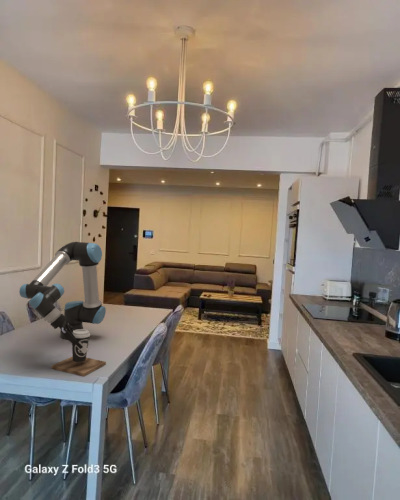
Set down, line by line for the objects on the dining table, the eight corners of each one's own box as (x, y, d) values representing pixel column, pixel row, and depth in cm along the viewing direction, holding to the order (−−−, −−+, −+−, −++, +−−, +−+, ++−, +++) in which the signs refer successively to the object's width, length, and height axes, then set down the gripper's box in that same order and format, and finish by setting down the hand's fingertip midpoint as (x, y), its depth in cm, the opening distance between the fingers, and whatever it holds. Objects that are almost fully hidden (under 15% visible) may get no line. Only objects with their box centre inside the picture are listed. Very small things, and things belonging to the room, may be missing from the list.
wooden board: (51, 368, 178) (51, 365, 178) (75, 357, 195) (75, 355, 195) (83, 376, 171) (84, 373, 171) (105, 364, 188) (105, 361, 188)
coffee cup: (91, 357, 188) (92, 329, 187) (85, 363, 178) (87, 334, 178) (73, 355, 187) (74, 328, 187) (66, 362, 178) (68, 333, 177)
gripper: (52, 318, 188) (82, 347, 193) (46, 329, 168) (79, 361, 173) (63, 308, 189) (93, 338, 194) (58, 318, 169) (91, 350, 174)
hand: (86, 349), depth 184 cm, fingers closed on coffee cup, 8 cm apart
